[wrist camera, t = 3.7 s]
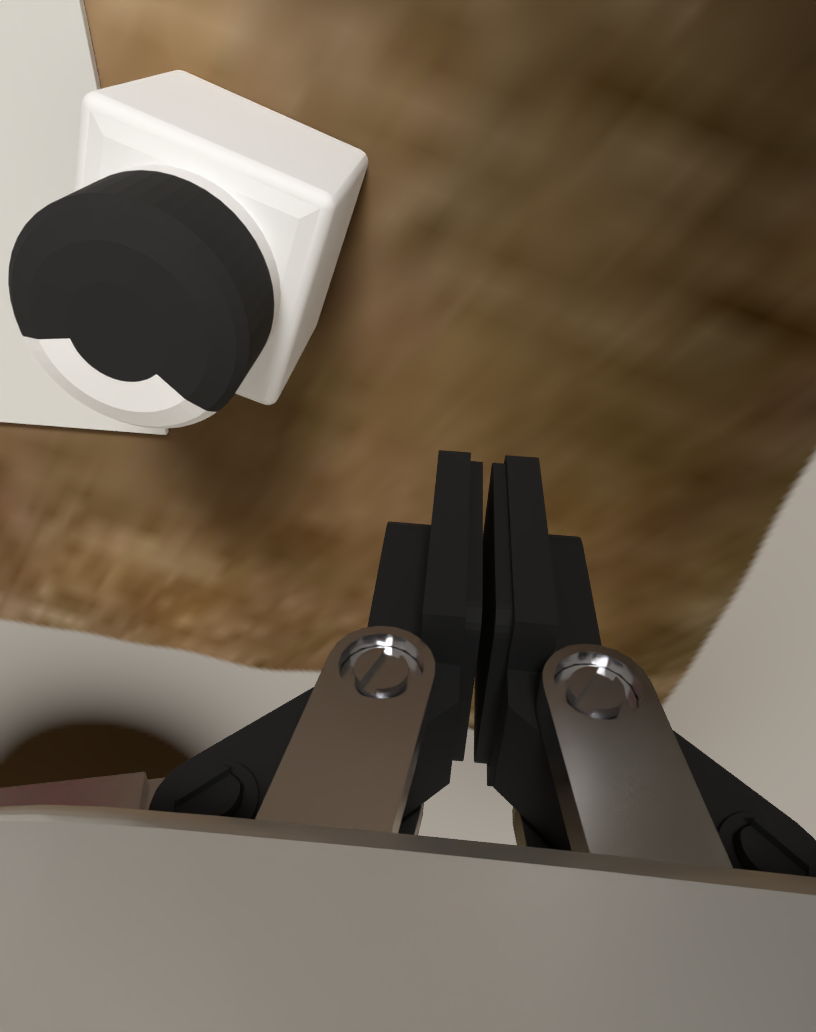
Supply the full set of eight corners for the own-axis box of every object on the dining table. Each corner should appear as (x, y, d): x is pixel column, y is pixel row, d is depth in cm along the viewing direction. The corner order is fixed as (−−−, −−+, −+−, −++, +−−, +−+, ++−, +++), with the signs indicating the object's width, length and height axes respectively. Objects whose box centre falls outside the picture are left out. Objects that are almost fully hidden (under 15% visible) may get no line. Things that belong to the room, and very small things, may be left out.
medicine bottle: (176, 64, 24) (-36, 114, 14) (372, 152, 25) (298, 253, 15) (146, 261, 28) (-33, 402, 18) (315, 329, 29) (229, 496, 20)
